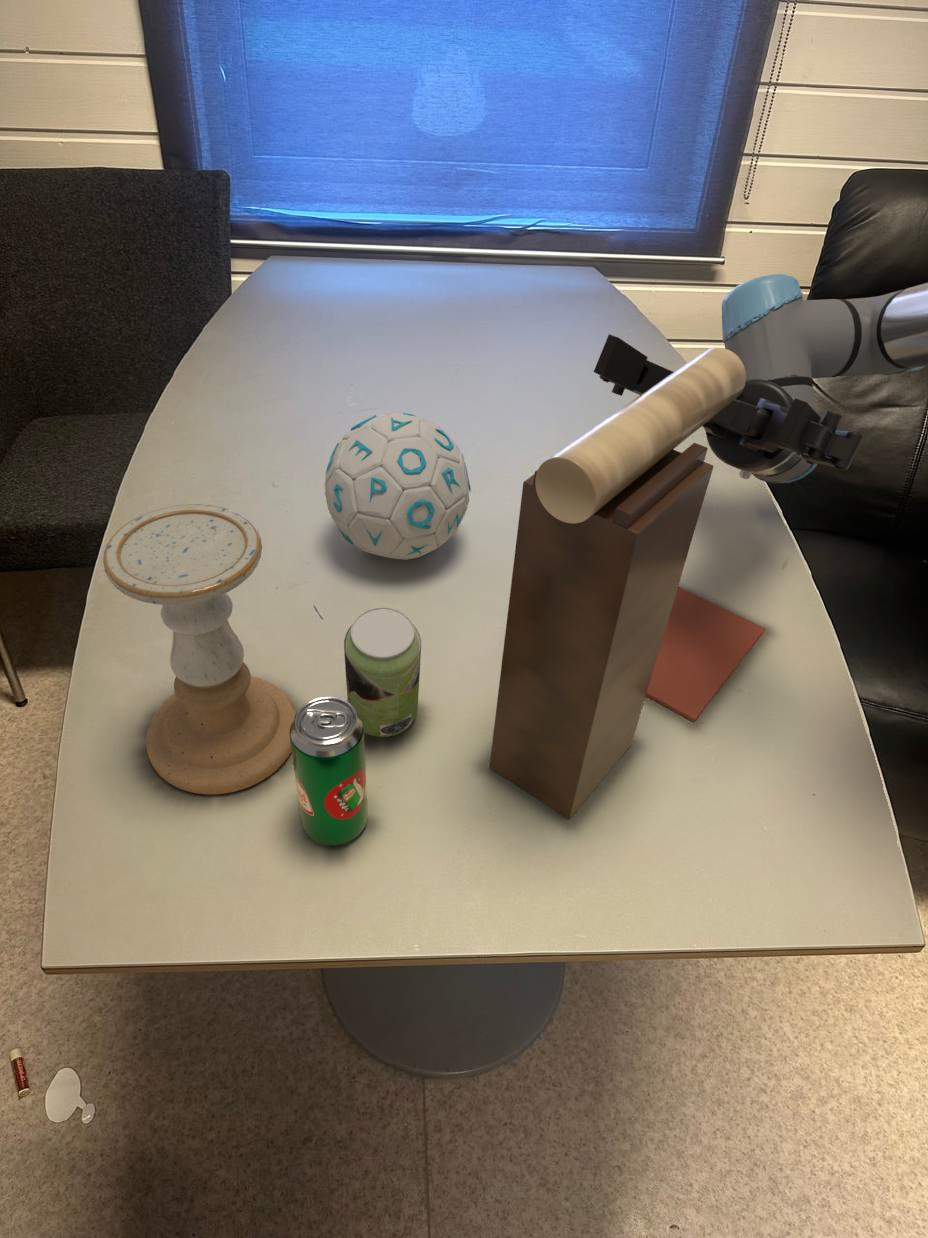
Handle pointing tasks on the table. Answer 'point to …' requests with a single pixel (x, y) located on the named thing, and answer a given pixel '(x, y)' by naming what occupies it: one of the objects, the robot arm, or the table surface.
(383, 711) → the beverage can
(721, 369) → the wooden dowel rod
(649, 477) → the stand
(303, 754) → the soda can
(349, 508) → the puzzle ball
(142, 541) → the candle holder
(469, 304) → the table surface
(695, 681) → the mat
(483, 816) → the table surface
